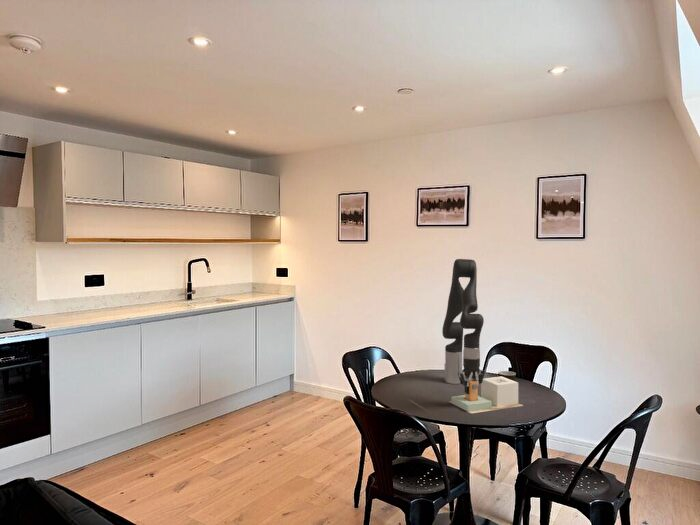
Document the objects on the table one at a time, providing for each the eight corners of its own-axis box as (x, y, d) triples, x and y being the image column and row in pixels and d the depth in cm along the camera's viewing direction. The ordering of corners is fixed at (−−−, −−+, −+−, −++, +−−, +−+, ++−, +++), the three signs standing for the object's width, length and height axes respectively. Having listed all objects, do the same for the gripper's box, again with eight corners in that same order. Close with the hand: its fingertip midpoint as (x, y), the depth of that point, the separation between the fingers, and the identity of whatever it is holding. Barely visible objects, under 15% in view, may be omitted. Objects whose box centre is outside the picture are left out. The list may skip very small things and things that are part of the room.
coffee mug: (515, 390, 249) (515, 371, 249) (516, 395, 241) (516, 375, 241) (491, 389, 253) (492, 370, 252) (492, 393, 244) (492, 374, 244)
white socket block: (481, 399, 232) (481, 378, 232) (501, 396, 237) (501, 376, 236) (497, 406, 221) (497, 385, 221) (518, 403, 225) (518, 382, 225)
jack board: (448, 403, 229) (448, 401, 229) (498, 396, 240) (498, 394, 239) (471, 415, 212) (471, 413, 212) (523, 407, 223) (523, 405, 223)
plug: (465, 401, 224) (465, 380, 224) (472, 400, 225) (472, 379, 225) (471, 404, 219) (471, 383, 219) (478, 403, 221) (478, 382, 221)
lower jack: (451, 403, 227) (451, 396, 226) (474, 399, 231) (474, 393, 231) (467, 411, 214) (467, 405, 214) (491, 408, 219) (491, 401, 219)
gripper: (479, 353, 228) (479, 389, 229) (453, 356, 223) (453, 392, 224) (489, 357, 221) (489, 393, 222) (463, 359, 216) (463, 397, 217)
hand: (471, 393), depth 223 cm, fingers closed on plug, 4 cm apart
